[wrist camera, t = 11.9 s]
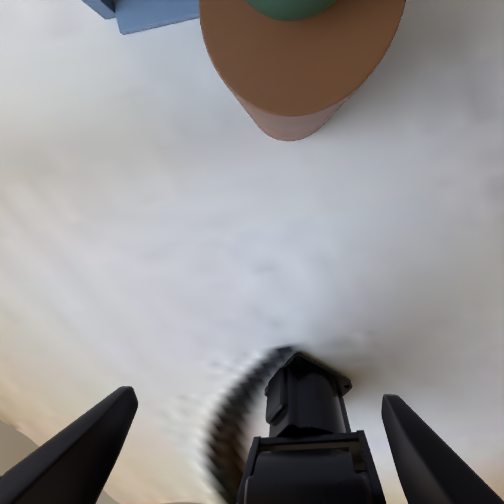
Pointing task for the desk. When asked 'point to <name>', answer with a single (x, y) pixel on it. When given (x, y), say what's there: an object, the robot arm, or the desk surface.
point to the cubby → (145, 12)
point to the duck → (296, 55)
